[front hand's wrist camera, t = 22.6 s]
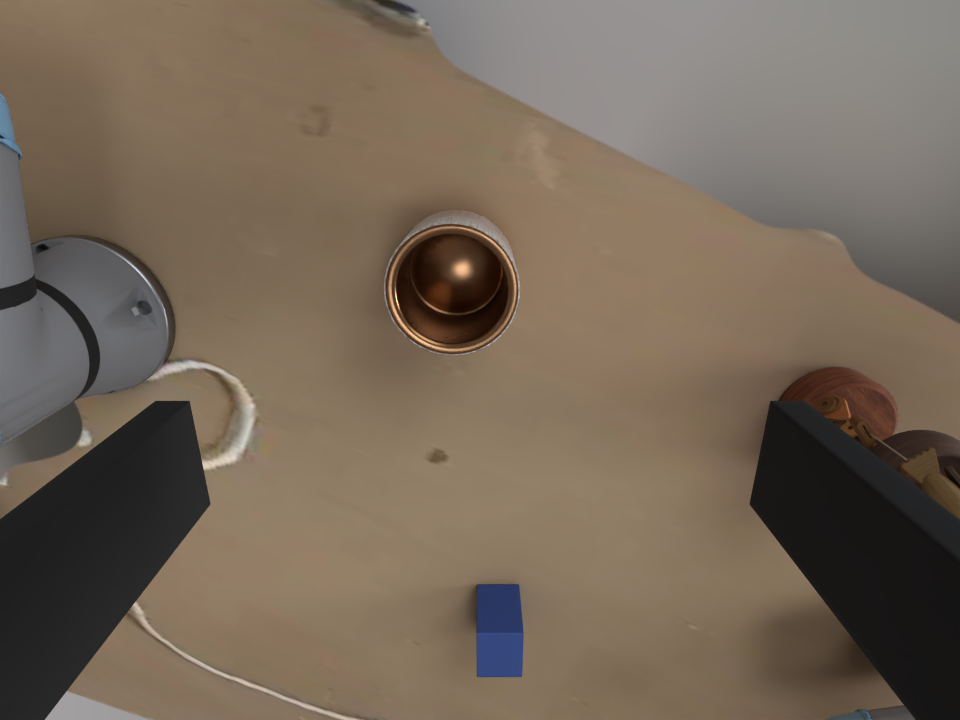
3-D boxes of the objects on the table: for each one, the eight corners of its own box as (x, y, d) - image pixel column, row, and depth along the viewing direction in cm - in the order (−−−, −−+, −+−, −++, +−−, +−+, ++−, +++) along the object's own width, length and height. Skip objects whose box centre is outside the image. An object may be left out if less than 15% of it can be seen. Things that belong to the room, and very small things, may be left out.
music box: (737, 423, 58) (879, 535, 38) (809, 337, 55) (997, 411, 36) (841, 492, 61) (1020, 628, 41) (912, 413, 58) (1138, 519, 39)
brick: (477, 625, 68) (476, 677, 61) (477, 584, 65) (476, 633, 59) (517, 625, 68) (521, 677, 61) (519, 584, 65) (523, 633, 59)
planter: (524, 219, 50) (534, 234, 41) (502, 331, 54) (507, 367, 45) (406, 198, 50) (390, 208, 41) (392, 313, 53) (374, 345, 44)
